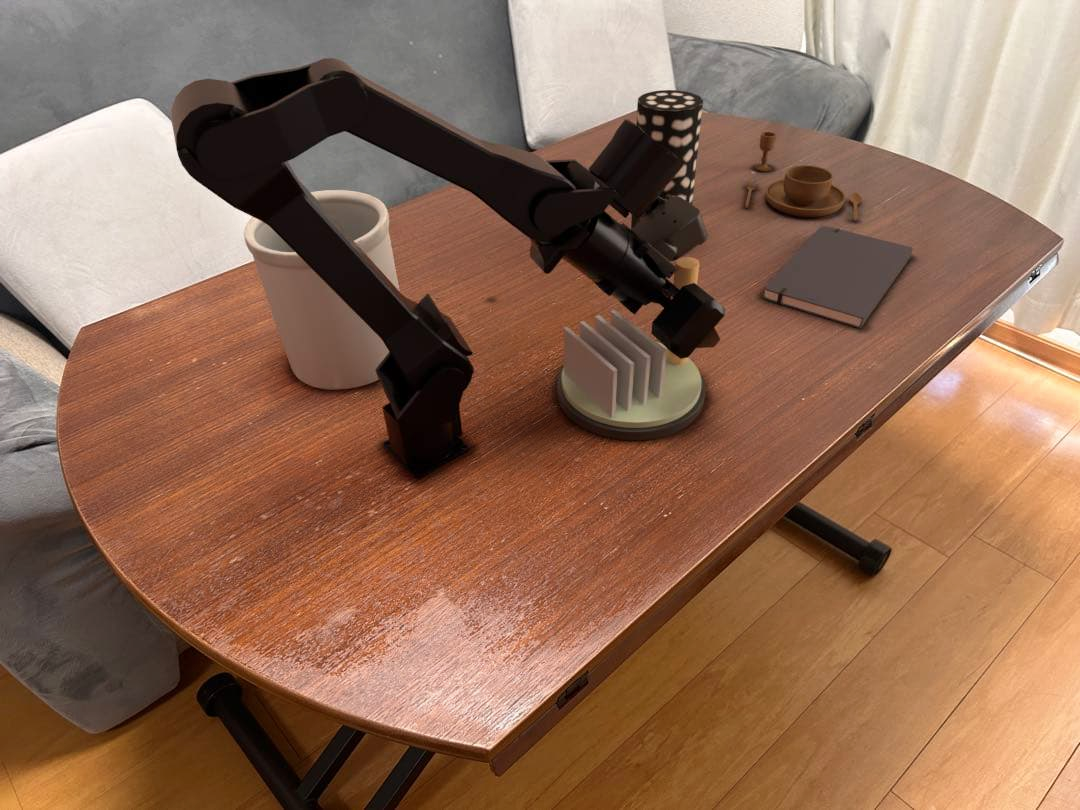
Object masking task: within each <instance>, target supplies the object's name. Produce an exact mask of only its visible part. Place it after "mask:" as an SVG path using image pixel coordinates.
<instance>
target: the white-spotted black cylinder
mask: <svg viewBox="0 0 1080 810" xmlns="http://www.w3.org/2000/svg"><path fill="white" fill-rule="evenodd" d="M637 98H638V99H637V105H636V106H637V108H636V123H635V124H636V125H638V126H639V127H640V128H641V129H642V130H643V131H644V132H645V133H646V134H648V135H649V136H650V137H651V138H653V139H654V140H655V141H656V142H657V143H659V144H660V145H662V146H663V147H665V148H667V149H668V150H670V151H671V152H672V153H673V154H674V155H675V156H676V157H677V158H678V159H679V160H680V161H681V163H682V164H683V167H682V168H681V169H680V171H679V172H678V173H677V174H676V176H675V177H674V178H673V179H672V180H671V182H670V183H669V184H668V185H667V186H666V188H665V189H664V190H663V191H662V192H661V194H660V195H659V197H661V198H662V199H665V200H666V199H667V198H666V195H668V194H670V195H671V196H673V197H681V198H683V199H684V200H686V201H687V202H689V203H690V204H692V205H693V200H694V193H695V182H696V172H697V164H698V154H699V146H700V145H699V143H700V133H701V125H702V116H703V106H704V99H703V98H702V96H700V95H698V94H696V93H693V92H690V91H685V90H677V89H676V90H675V89H663V90H661V89H660V90H654V91H649V92H646V93H642V94H641V95H640V96H639V97H637ZM658 206H659V205H658ZM658 206H657V207H658ZM636 222H637V219H636V218H635V217H634V216H633V215H632V214H631V219H630V229H632V228H633V227H635V226H636Z"/></svg>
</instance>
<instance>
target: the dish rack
mask: <svg viewBox="0 0 1080 810" xmlns="http://www.w3.org/2000/svg"><path fill="white" fill-rule="evenodd" d="M674 266H675V267H677V268H678V269H677V270H676V272H675V273H674V274H673V282H672V284H674V285H675V286H676V287H677V288H678V289H681V288H682V287H683V286H685V285H689V284H692V283H695V284H696V285H698V281H699V280H698V279H699V270H700V261H699V260H698V259H696V258H694V257H691V256H682V257H680V258H679V259H677V260H675V262H674ZM672 298H673V297H672ZM672 298H671V299H672ZM594 318H595V319H594V328H593V327H592V326H591V325H589V324H588V323H587V322H586V321H584V320H581V321H579V335H578V334H577V333H576V332H575V331H574V330H572V329H571V328H570V327H568V326H564V327H563V366H564V368H563V367H562V368H563V372H562V390H563V393H564V395H565V397H566V399H567V400H568V402H569V403H570V404H571V405H572V406H573V407H574V408H575V409H576V410H577V411H579V412H580V413H582V414H583V415H585V416H587V417H589V418H591V419H593V420H595V421H598V422H600V423H604V424H607V425H611V426H617V427H625V428H646V427H653V426H659V425H662V424H666V423H669V422H672V421H674V420H676V419H678V418H680V417H682V416H683V415H685V414H686V413H688V412H689V411H690V410H691V409H692V408H693V406H694V405H695V404H696V403H697V401H698V398H699V396H700V392H701V376H700V374H701V372H700V371H699V369H698V367H697V365H696V364H695V363H694V362H693V361H692V360H691V358H689V357H688V358H683V359H680V358H679V357H677V356H676V355H675V354H673V353H672V352H670V351H669V350H668V349H667V348H666V347H665V346H664V345H663V344H662V343H661V342H660V341H656V340H654V339H653V338H652V337H651V336H649V335H648V334H647V333H646V332H644V331H643V330H641V329H640V328H639V327H638V326H637V325H635V324H634V323H633V322H632V321H630V320H628V318H626V317H625V316H624V315H622V314H621V313H619V312H618V311H617V310H616V309H612V310H610V321H607V320H606V319H605V318H604V317H602V316H601V315H600V314H598V315H595V317H594ZM699 372H700V373H699Z"/></svg>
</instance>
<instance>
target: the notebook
mask: <svg viewBox="0 0 1080 810" xmlns="http://www.w3.org/2000/svg"><path fill="white" fill-rule="evenodd" d="M913 250H914V247H912V246H909V245H905V244H901V243H896V242H893V241H888V240H886V239H885V240H884V239H880V238H876V237H872V236H868V235H864V234H860V233H855V232H852V231H847V230H844V229H840V228H835V227H831V226H827V225H822V226H820V227H818V229H817V230H816V231H815V232H814V233H813V234H812V235H811V236H810V237H809V238H808V239H807V241H805V243H803V244H802V246H801V247H799V248H798V250H797V251H796V252H795V253H794V254H793V255H792V256H791V257H790V258H789V259H788V260H787V262H786V263H785V264H784V265H783V266H782V267H780V269H779V270H778V271H777V272H776V274H774V275H773V276H772V278H771V279H770V280H768V282H767V283H766V284H765V286H764V290H765V291H764V293H763V295H762V299H764V300H766V301H768V302H770V303H775V304H778V305H781V306H784V307H788V308H791V309H795V310H798V311H802V312H805V313H808V314H811V315H814V316H817V317H821V318H823V319H827V320H831V321H834V322H837V323H840V324H844V325H846V326H850V327H853V328H857V329H862V327H863V326H864V324H865V323H866V321H867V320H868V319H869V318H870V315H872V313H873V311H874V310H875V308H876V307H877V306H878V304H879V303H880V301H881V300H882V298H883V297H884V296H885V294H886V293H887V291H888V290H889V289H890V287H891V285H892V284H893V283H894V282H895V280H896V278H897V277H898V275H899V274H900V273H901V271H902V270H903V269H904V267H905V265H907V263H908V261H909V260H910V258H911V256H912V253H913Z"/></svg>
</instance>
